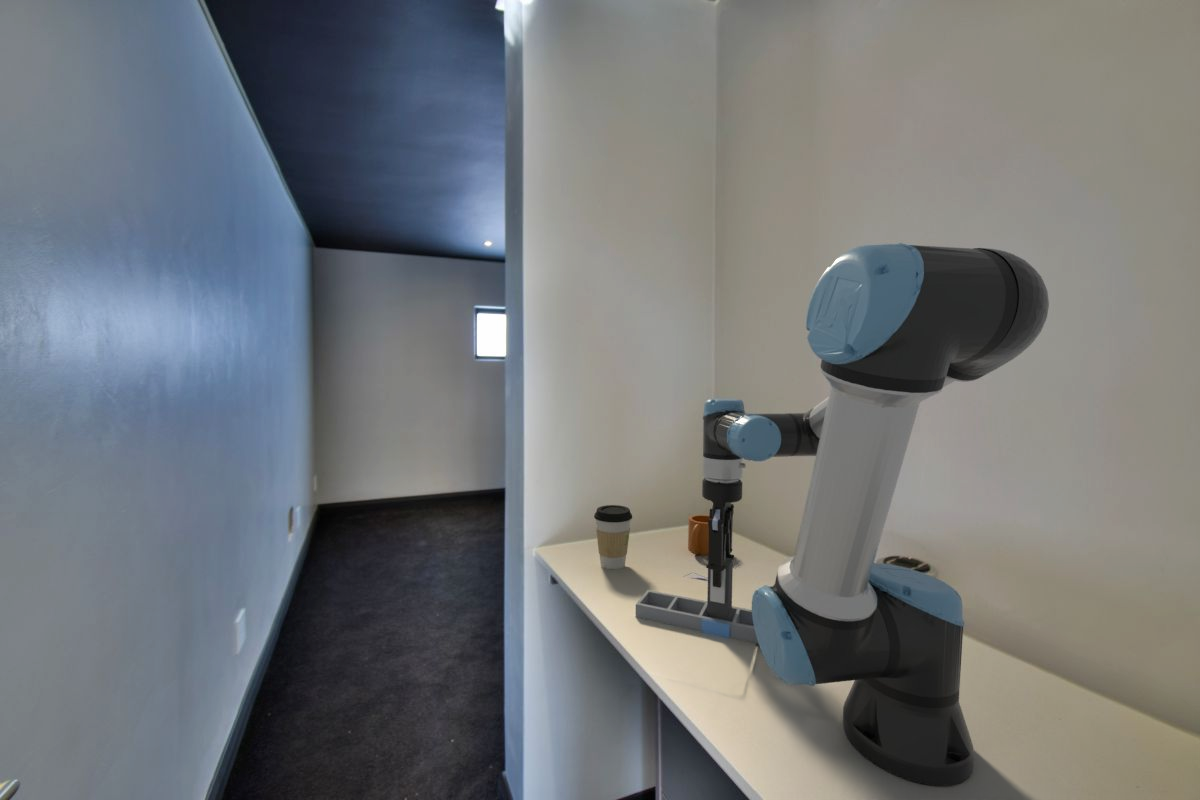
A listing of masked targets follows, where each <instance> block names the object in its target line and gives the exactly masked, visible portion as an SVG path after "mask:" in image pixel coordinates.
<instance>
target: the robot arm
mask: <svg viewBox="0 0 1200 800" xmlns="http://www.w3.org/2000/svg"><path fill="white" fill-rule="evenodd" d="M1049 301H1050V299H1049V293H1048V289H1047V286H1046V284H1045V282H1044V279H1043V277H1042V276H1041V275H1040V274H1039V272H1038V271H1037V270H1036V268H1035V267H1033V266H1032V265H1031V264H1030V263H1029V262H1027V261H1026V260H1025V259H1023V258H1021V257H1020V256H1018V255H1016V254H1014V253H1011V252H1007V251H1005V250H1001V249H996V248H995V249H994V248H987V247H985V248H983V247H976V248H975V247H974V248H966V247H954V246H953V247H952V246H951V247H949V246H937V245H936V246H935V245H933V246H932V245H918V244H917V245H915V244H914V245H913V244H906V243H903V242H899V243H887V244H867V245H860V246H856V247H854V248H852V249H849V250H847V251H845V252H844V253H842V254H841V255H839V256H838V257H837V258H836V259H835V260H834V261H833V263H832V264H830V265H829V266H827V267H826V269H825V271H824V272H823V273H822V275H821V276H820V278H819V279H818V281H817V283H816V285H815V286H814V289H813V292H812V294H811V296H810V300H809V301H808V307H807V312H806V319H805V326H806V327H805V329H806V330H807V331H809V332H808V334H807V337H806V338H807V342H808V345H809V347H810V349H811V350H812V353H814V355H815V356H817V357H818V358H819V359H821V361H820V366H819V371H820V373H821V374H822V376H824V377H825V379H826V380H827V382H829V384H830V391H829V396H828V397H826V398H824V399H823V400H822V401H820V402H819V403H818V404H817V405H815V406H814V407H813V408H811V409H810V410H808V411H807V412H799V413H798V412H797V413H796V412H795V413H794V412H792V413H791V412H790V413H748V412H747V413H746V411H745V404H744V402H743V400H742V399H738V398H708V399H707V400H706V401H705V402H704V405H703V406H704V407H703V415H702V420H703V422H702V424H703V428H702V429H703V434H702V436H703V437H702V439H703V440H702V441H703V442H702V451H703V452H702V467H701V468H702V473H701V474H702V476H703V479H702V481H701V483H702V486H701V492H702V493H701V495H702V497H703V499H704V500H706V501H711V502H712V508H709V512H708V513H709V514H708V515H709V517H710V518H709V519H708V527H709V555H707V556H708V559H707V560H708V562H707V564H706V569H708V568H709V569H711V577H710V601H713V602H718V603H723V604H724V603H725V577H726V569H725V566H724V563H725V558H732V559H733V561H734V559H735V555H734V554H732V552H733V521H734V520H733V518H734V517H733V516H734V510H735V509H734V508H735V504H734V503H737V502H740V501H741V500H742V499H743V481H742V480H741V479H742V478H743V469H746V467H747V465H746V462H743V460H746V461H752V462H765V461H767V460H768V459H770V458H777V457H778V458H787V457H788V458H789V457H815V460H814V464H813V467H812V468H813V469H812V472H811V477H810V482H809V486H808V490H807V495H806V501H805V505H804V509H803V514H802V518H801V522H800V523H801V524H800V528H799V531H798V537H797V541H796V545H795V549H794V555H793V556H789V557H788V558H786V559H784V560H783V561H782V562H780V564H779V566H778V569H777V573H776V577H775V582H774V585H772V586H768V585H763V586H761V587H759V588H756V589H755V591H754V592H753V594H752V598H751V610H752V618H753V624H754V628H755V632H756V636H757V640H758V643H759V646H760V647H759V648H760V651H761V653H762V656H763V658H764V659H765V662H766V663H767V666H768V667H769V668H770V670H771V671H772V673H773V674H774V675H775V676H776V678H778V679H779V680H780V681H781V682H783V683H784V684H788V685H791V686H798V685H799V686H804V685H805V686H807V685H809V686H810V687H813V686H815V685H820V684H821V685H822V684H832V683H842V682H851V681H853V682H852V683H853V684H852V686H851V687H850V690H849V693H848V695H847V697H846V699H845V701H844V704H843V709H842V729H843V732H844V733H845V735H846V736H845V737H847V739H848V740H849V742H850V743H851V744H852V745H853V747H854V748H855V749H856V750H857V751H858V753H860V754H861V755H863V756H864V757H865V758H866V759H867V760H869V761H870V762H872V763H873V764H874V765H876V766H878V767H879V768H881V769H883V770H885V771H887V772H888V773H891V774H893V775H895V776H898V777H900V778H903V779H905V780H908V781H912V782H915V783H919V784H923V785H930V786H937V787H938V786H939V787H941V786H942V787H943V786H944V787H946V786H954V785H958V784H961V783H964V782H965V781H966V780H968V779H969V778H970V776H971V775H972V773H973V771H974V759H975V758H974V756H975V755H974V753H975V752H974V751H975V750H974V745H973V741H972V738H971V736H970V731H969V729H968V726H967V722H966V720H965V717H964V713H963V711H962V707H961V704H960V703H961V702H960V688H961V686H960V685H961V670H962V669H961V668H962V667H961V666H962V652H963V651H962V650H963V637H964V636H963V634H964V627H965V621H964V620H963V617H964V616H963V614H964V613H963V599H962V597H961V595H960V594H959V593H958V591H957V590H955V587H952V586H951V585H950V584H948V583H946V582H944V580H941V579H939V578H937V577H934V576H933V575H930V574H928V573H925V572H921V571H918V570H915V569H911V568H908V567H903V566H899V565H894V564H888V563H880V562H875V560H876V556H877V552H878V550H879V546H880V542H881V539H882V536H883V533H884V528H885V525H886V521H887V518H888V516H889V511H890V508H891V504H892V501H893V497H894V493H895V490H896V486H897V483H898V480H899V476H900V473H901V469H902V466H903V462H904V460H905V456H906V451H907V448H908V445H909V441H910V439H911V435H912V431H913V428H914V424H915V421H916V417H917V414H918V410H919V407H920V404H921V403H922V402H924V401H926V400H927V399H929V398H932V397H933V396H935V395H937V394H938V395H939V393H941V392H942V390H943V388H945V387H947V386H948V385H950V384H952V383H955V381H956V382H962V383H966V382H967V383H969V382H973V381H976V380H979V379H980V378H982V377H984V376H986V375H988V374H990V373H991V372H994V371H996V370H997V369H999V368H1000V367H1002V366H1004V365H1006V364H1008V363H1009V362H1011V361H1012V360H1014V359H1016V358H1017V357H1018V356H1019V355H1021V354H1022V353H1024V351H1026V350H1027V349H1028V348H1029V347H1030V346H1031V345H1032V344H1033V342H1035V341H1036V339H1037V337H1038V336H1039V335H1040V334H1041V332H1042V330H1043V328H1044V326H1045V323H1046V321H1047V319H1048V313H1049V308H1050V307H1049V306H1050V302H1049ZM725 551H726V554H725Z"/></svg>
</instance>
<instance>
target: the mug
mask: <svg viewBox="0 0 1200 800" xmlns="http://www.w3.org/2000/svg"><path fill="white" fill-rule="evenodd" d="M709 518H710V517H709V514H694V515H690V516H689V517H688V529H687V530H688V532H687V533H688V534H687V535H688V536H687V537H688V538H687V549H688V551H689V552H691V553H692V554H695V555H697V556H698V555H700V556H701V555H702V556H709V527H708V519H709Z"/></svg>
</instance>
